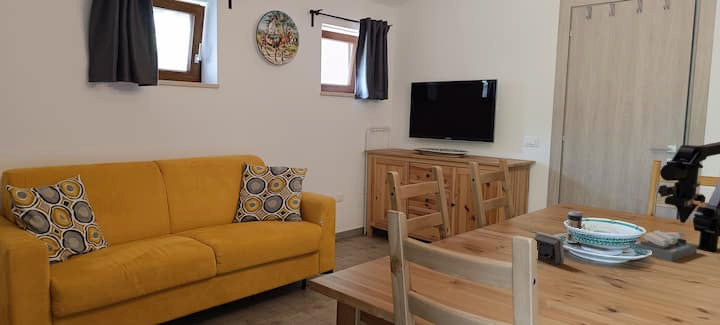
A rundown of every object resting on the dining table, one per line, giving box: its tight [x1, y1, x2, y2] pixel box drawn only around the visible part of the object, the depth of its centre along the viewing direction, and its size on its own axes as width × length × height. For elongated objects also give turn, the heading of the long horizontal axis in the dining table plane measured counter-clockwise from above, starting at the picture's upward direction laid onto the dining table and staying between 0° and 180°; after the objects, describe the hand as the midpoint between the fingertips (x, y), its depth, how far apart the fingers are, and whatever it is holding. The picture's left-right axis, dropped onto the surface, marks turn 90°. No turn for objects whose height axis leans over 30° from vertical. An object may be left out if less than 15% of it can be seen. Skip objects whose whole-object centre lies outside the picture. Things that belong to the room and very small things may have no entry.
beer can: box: [565, 210, 583, 242], centre depth 181 cm, size 5×5×12 cm
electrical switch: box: [532, 231, 565, 266], centre depth 158 cm, size 9×5×9 cm, turn 38°
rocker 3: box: [664, 231, 686, 239], centre depth 178 cm, size 4×7×2 cm, turn 35°
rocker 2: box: [652, 230, 678, 245], centre depth 174 cm, size 4×7×2 cm, turn 35°
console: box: [634, 238, 698, 262], centre depth 174 cm, size 20×12×4 cm, turn 125°
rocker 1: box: [642, 231, 670, 247], centre depth 171 cm, size 4×7×2 cm, turn 35°
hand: (682, 222), depth 174 cm, fingers closed
